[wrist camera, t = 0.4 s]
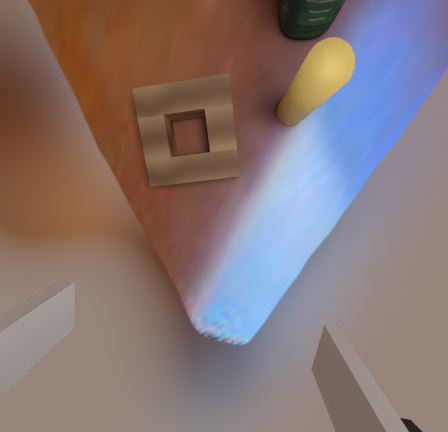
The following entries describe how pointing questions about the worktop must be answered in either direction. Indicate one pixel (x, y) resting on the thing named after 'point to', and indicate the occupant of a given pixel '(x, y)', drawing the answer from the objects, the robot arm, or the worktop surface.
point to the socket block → (182, 110)
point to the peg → (317, 79)
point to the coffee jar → (308, 16)
